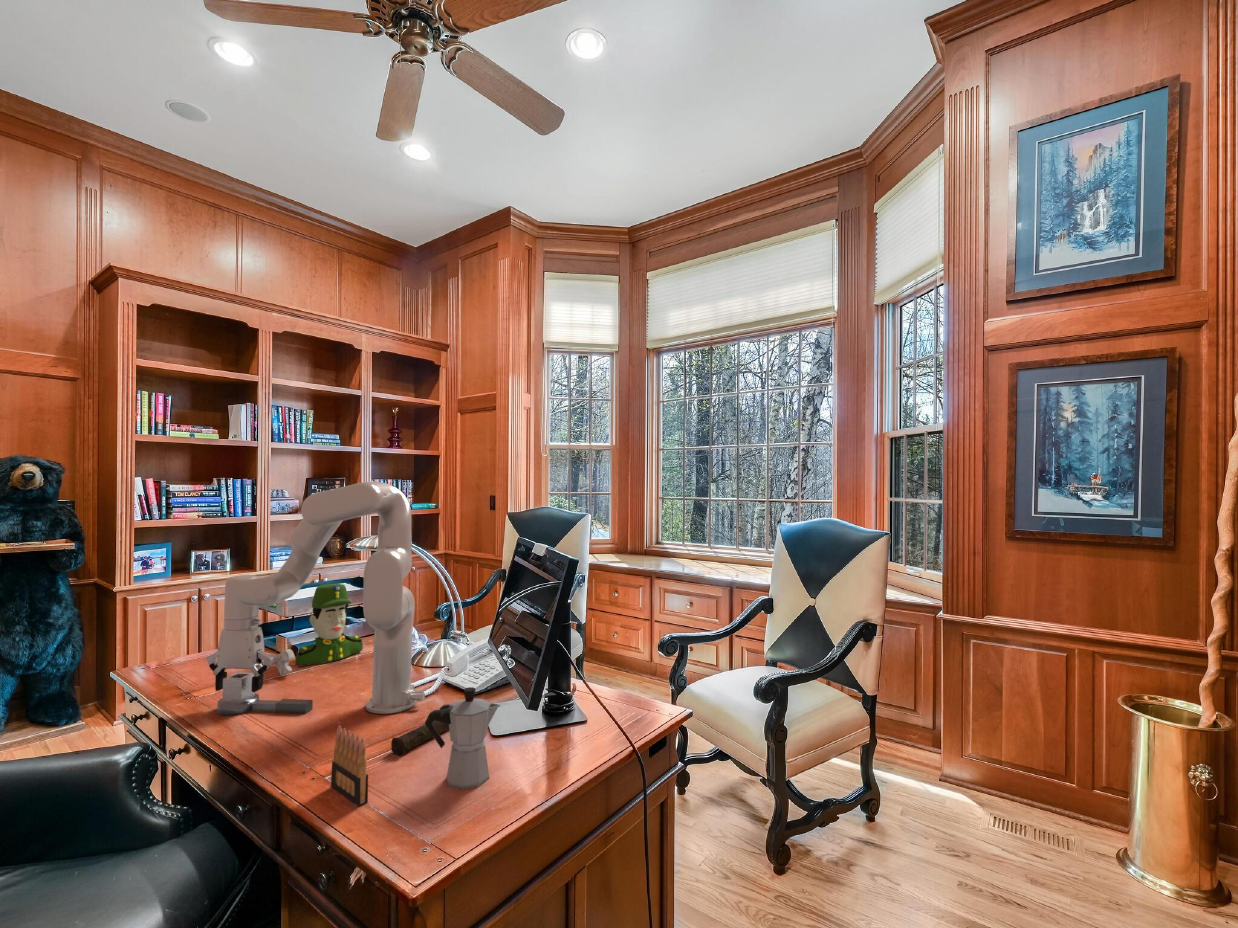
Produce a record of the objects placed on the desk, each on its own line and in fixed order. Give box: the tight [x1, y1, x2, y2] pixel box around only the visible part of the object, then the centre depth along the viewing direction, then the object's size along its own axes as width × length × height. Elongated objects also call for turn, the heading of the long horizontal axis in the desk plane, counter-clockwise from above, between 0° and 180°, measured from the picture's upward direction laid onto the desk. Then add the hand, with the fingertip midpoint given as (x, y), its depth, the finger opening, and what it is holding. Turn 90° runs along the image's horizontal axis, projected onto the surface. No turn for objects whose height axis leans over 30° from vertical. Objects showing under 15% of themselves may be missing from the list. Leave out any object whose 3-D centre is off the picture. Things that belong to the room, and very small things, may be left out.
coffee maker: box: [424, 686, 501, 790], centre depth 115 cm, size 15×9×18 cm, turn 112°
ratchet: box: [216, 692, 314, 717], centre depth 148 cm, size 24×9×6 cm, turn 87°
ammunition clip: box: [330, 724, 369, 807], centre depth 109 cm, size 11×2×12 cm, turn 52°
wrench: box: [262, 648, 296, 677], centre depth 179 cm, size 8×2×30 cm
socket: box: [221, 671, 256, 703], centre depth 148 cm, size 5×5×6 cm
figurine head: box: [294, 583, 364, 667], centre depth 189 cm, size 22×12×25 cm, turn 143°
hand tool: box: [390, 721, 450, 757], centre depth 133 cm, size 19×4×5 cm, turn 150°
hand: (238, 689), depth 148 cm, fingers open, 9 cm apart
